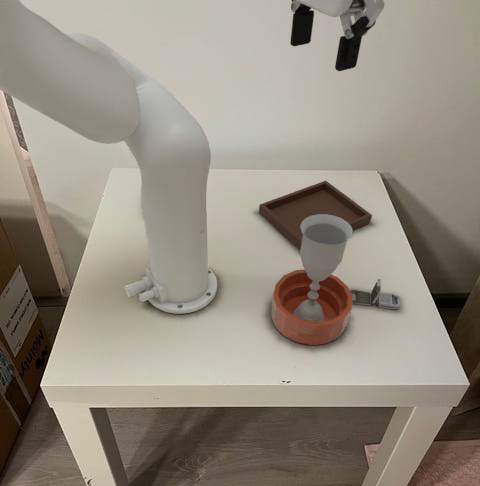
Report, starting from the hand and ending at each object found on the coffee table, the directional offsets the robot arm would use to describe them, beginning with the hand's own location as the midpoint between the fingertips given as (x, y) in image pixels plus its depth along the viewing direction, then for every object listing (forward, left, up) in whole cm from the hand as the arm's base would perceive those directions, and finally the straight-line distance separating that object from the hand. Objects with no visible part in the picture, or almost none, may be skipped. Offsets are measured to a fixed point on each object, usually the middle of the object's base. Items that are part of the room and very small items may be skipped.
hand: (321, 56), depth 66 cm
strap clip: (+4, -17, -35) cm, 40 cm away
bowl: (-8, -14, -35) cm, 39 cm away
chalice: (-8, -14, -35) cm, 39 cm away
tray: (+10, +7, -35) cm, 37 cm away
